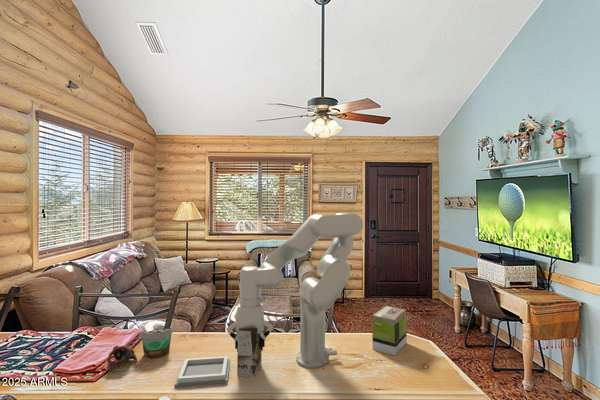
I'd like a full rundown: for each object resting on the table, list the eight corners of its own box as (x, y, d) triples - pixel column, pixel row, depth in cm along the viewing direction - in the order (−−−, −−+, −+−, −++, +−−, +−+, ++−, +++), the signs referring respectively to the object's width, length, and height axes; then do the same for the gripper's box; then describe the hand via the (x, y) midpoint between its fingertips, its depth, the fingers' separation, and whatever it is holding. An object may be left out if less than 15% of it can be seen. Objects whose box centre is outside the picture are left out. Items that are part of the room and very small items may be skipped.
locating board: (229, 361, 123) (229, 354, 123) (227, 383, 108) (227, 376, 108) (183, 364, 121) (183, 358, 121) (174, 387, 106) (174, 380, 106)
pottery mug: (143, 364, 122) (136, 350, 117) (119, 385, 115) (110, 371, 111) (128, 348, 128) (120, 334, 124) (103, 366, 122) (95, 353, 118)
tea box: (384, 337, 146) (385, 304, 146) (407, 343, 140) (407, 309, 140) (371, 349, 134) (371, 314, 134) (395, 356, 128) (395, 319, 128)
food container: (140, 363, 122) (140, 336, 122) (139, 356, 127) (139, 330, 127) (174, 356, 127) (175, 330, 127) (173, 349, 133) (173, 325, 133)
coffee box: (254, 378, 112) (254, 331, 112) (236, 375, 113) (237, 329, 113) (262, 364, 121) (262, 321, 121) (245, 363, 122) (246, 320, 122)
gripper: (273, 297, 122) (273, 343, 122) (226, 299, 119) (226, 346, 119) (275, 303, 115) (274, 353, 115) (225, 305, 112) (224, 356, 112)
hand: (249, 349), depth 117 cm, fingers closed on coffee box, 8 cm apart
